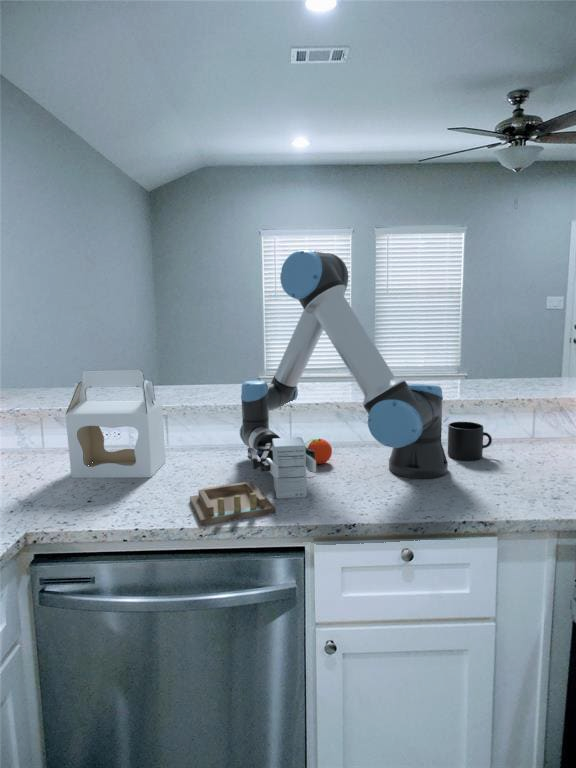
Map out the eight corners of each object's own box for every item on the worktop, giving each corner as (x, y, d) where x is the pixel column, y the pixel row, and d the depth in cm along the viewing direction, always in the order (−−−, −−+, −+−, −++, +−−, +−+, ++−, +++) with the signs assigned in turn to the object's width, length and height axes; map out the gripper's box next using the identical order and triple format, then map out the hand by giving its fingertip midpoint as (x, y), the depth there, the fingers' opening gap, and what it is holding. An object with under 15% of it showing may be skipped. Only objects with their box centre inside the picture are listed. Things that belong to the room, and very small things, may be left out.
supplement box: (273, 487, 124) (271, 437, 122) (303, 486, 125) (302, 436, 123) (275, 499, 117) (273, 446, 115) (307, 497, 118) (306, 444, 116)
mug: (495, 461, 140) (497, 429, 139) (451, 461, 142) (452, 429, 140) (486, 451, 149) (487, 421, 148) (444, 451, 151) (445, 421, 149)
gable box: (166, 462, 147) (160, 366, 143) (152, 477, 134) (145, 372, 130) (91, 463, 148) (83, 367, 144) (70, 478, 135) (60, 374, 131)
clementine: (301, 466, 141) (300, 441, 139) (306, 458, 147) (306, 434, 146) (329, 467, 138) (329, 442, 137) (334, 460, 145) (333, 436, 144)
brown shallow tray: (256, 491, 122) (256, 472, 122) (275, 513, 109) (274, 492, 109) (190, 501, 117) (189, 481, 116) (201, 525, 104) (199, 503, 103)
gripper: (303, 452, 141) (338, 478, 120) (227, 462, 134) (251, 491, 113) (302, 426, 140) (338, 447, 118) (226, 435, 133) (250, 459, 111)
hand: (295, 469), depth 116 cm, fingers closed on supplement box, 8 cm apart
